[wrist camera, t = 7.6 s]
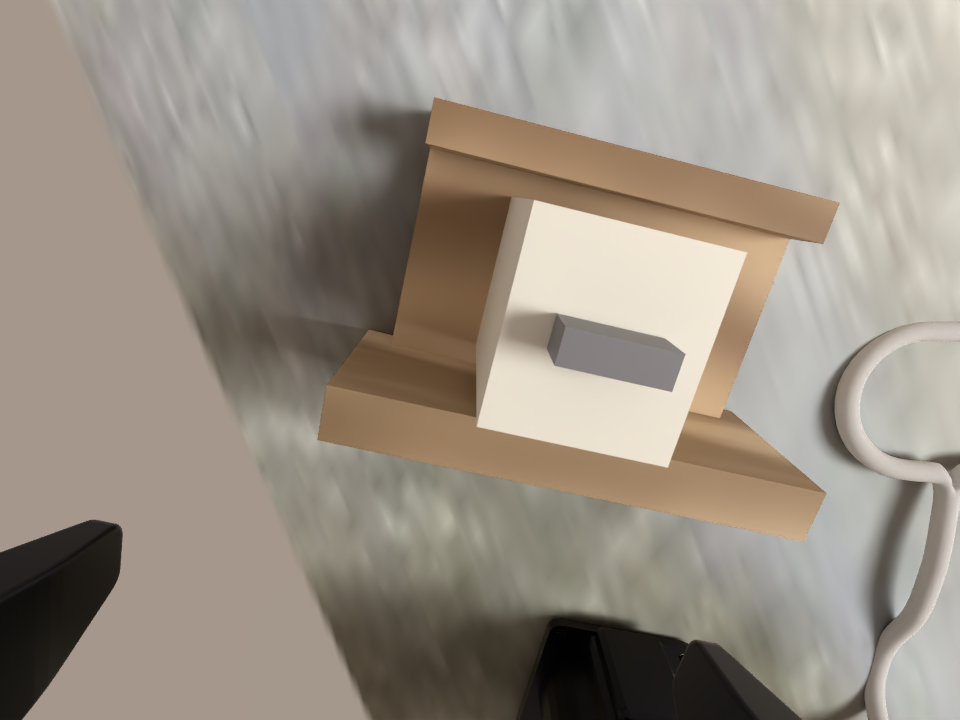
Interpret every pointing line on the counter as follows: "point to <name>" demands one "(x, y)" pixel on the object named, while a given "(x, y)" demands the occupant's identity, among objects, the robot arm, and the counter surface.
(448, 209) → the board
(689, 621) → the counter surface
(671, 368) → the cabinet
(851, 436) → the hook
